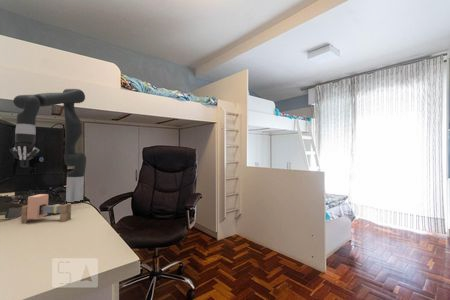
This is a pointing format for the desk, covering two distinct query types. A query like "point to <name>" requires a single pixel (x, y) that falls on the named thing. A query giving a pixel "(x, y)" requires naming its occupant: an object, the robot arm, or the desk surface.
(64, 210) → the stand
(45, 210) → the grey metal bar
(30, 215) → the collar
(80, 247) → the desk surface
